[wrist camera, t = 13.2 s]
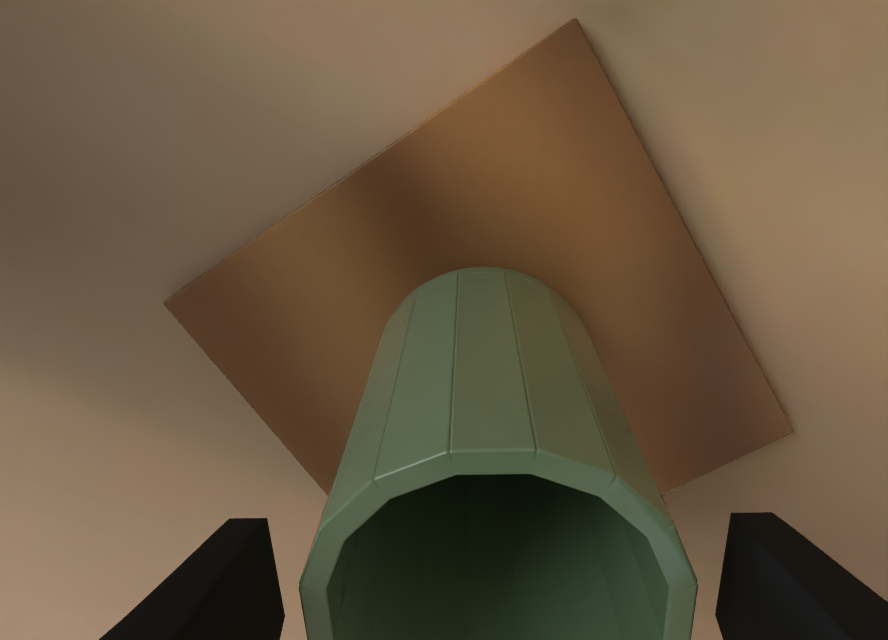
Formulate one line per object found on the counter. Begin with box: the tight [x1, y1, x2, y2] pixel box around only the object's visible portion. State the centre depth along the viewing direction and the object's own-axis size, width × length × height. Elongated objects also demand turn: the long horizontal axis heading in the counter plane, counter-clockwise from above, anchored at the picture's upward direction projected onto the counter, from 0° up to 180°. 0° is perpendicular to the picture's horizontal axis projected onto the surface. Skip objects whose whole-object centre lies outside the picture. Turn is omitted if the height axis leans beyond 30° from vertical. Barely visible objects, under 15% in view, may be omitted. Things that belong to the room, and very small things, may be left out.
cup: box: [299, 267, 698, 640], centre depth 13 cm, size 6×6×8 cm
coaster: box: [163, 18, 793, 495], centre depth 17 cm, size 12×12×1 cm
